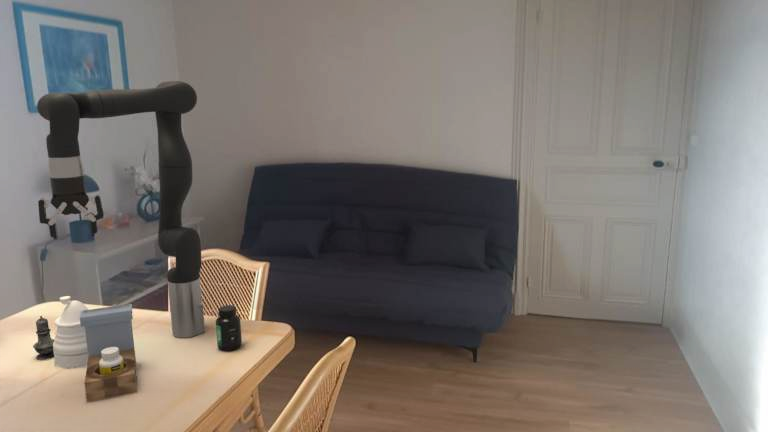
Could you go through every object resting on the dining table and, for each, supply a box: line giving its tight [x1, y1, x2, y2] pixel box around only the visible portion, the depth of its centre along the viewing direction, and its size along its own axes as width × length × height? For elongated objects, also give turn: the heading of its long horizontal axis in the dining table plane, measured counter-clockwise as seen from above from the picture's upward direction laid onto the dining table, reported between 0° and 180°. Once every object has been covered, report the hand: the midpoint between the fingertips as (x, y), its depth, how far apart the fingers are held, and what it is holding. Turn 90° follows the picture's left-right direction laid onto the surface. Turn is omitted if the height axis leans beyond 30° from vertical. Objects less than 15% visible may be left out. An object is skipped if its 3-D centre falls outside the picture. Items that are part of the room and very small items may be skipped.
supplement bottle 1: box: [99, 347, 124, 375], centre depth 141 cm, size 5×5×10 cm
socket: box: [84, 349, 138, 403], centre depth 143 cm, size 11×15×5 cm
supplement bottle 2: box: [215, 304, 243, 353], centre depth 162 cm, size 7×7×12 cm
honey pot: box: [53, 295, 89, 369], centre depth 156 cm, size 13×13×18 cm
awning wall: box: [80, 303, 137, 360], centre depth 148 cm, size 12×5×17 cm, turn 114°
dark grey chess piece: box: [32, 315, 55, 361], centre depth 157 cm, size 6×6×12 cm
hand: (75, 236), depth 145 cm, fingers open, 8 cm apart
